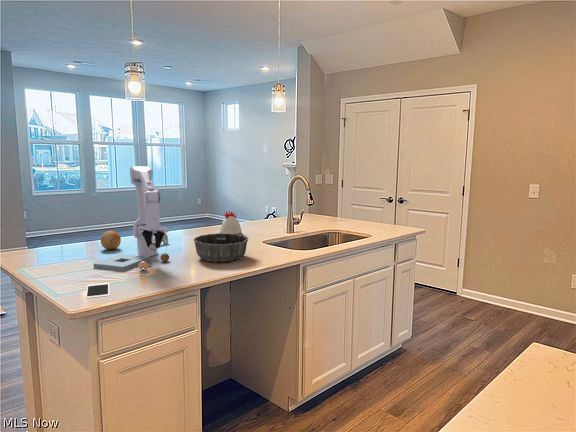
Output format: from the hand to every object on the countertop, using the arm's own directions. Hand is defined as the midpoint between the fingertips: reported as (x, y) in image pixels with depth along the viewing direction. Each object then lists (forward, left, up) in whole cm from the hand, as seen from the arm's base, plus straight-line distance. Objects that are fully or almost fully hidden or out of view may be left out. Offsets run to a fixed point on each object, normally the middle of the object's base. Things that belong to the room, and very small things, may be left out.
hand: (153, 247), depth 189 cm
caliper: (-33, -24, -9) cm, 42 cm away
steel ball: (0, 0, 0) cm, 0 cm away
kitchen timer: (-79, 0, -9) cm, 80 cm away
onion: (-20, -41, -9) cm, 46 cm away
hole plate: (+3, -15, -8) cm, 18 cm away
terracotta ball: (+8, 0, -6) cm, 10 cm away
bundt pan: (-23, +22, -9) cm, 33 cm away
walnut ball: (-8, 0, -6) cm, 10 cm away
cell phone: (+36, +1, -9) cm, 37 cm away
